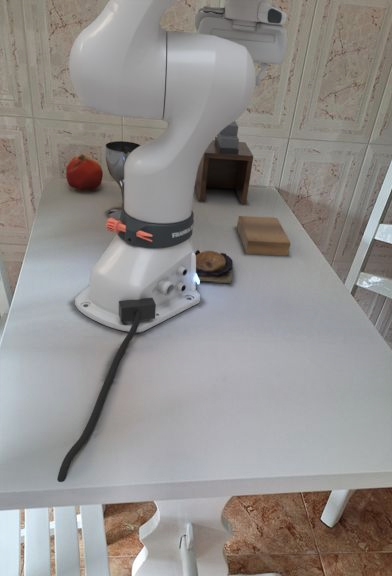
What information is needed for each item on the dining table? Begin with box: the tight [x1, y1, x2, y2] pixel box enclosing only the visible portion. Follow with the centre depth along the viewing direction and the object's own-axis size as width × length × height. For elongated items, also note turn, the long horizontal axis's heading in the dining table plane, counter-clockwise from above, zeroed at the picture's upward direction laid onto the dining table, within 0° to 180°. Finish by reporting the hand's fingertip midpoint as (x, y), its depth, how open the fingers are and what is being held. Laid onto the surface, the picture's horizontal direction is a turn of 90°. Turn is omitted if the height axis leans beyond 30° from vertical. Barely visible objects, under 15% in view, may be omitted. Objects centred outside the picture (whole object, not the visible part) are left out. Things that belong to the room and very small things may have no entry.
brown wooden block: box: [236, 215, 291, 257], centre depth 107 cm, size 13×9×3 cm
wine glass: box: [104, 140, 142, 221], centre depth 108 cm, size 8×8×15 cm
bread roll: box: [194, 249, 234, 284], centre depth 94 cm, size 11×8×4 cm
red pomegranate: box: [65, 153, 104, 191], centre depth 121 cm, size 9×9×8 cm
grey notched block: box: [214, 120, 240, 155], centre depth 119 cm, size 10×5×6 cm, turn 5°
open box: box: [195, 139, 254, 205], centre depth 125 cm, size 12×12×12 cm
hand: (235, 83), depth 112 cm, fingers open, 8 cm apart
